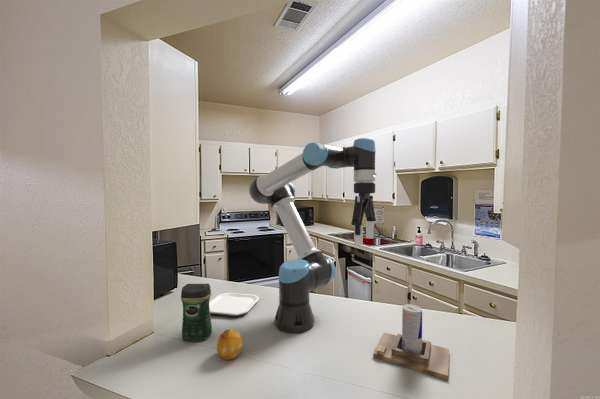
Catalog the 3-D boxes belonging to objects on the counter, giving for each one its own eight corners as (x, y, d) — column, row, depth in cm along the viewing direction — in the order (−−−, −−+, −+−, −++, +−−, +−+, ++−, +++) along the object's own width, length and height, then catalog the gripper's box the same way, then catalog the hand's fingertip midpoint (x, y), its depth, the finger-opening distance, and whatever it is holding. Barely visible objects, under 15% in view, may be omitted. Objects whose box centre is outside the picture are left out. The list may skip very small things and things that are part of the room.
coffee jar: (214, 330, 97) (213, 280, 97) (206, 342, 89) (205, 288, 89) (188, 330, 98) (187, 280, 97) (178, 342, 90) (177, 288, 89)
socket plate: (373, 357, 81) (373, 347, 81) (383, 335, 93) (383, 327, 93) (448, 380, 71) (448, 369, 71) (449, 352, 83) (449, 343, 83)
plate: (197, 315, 110) (197, 310, 110) (222, 296, 130) (222, 291, 130) (243, 320, 105) (243, 315, 105) (262, 299, 126) (262, 295, 125)
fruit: (207, 347, 82) (217, 329, 80) (228, 338, 89) (237, 320, 87) (221, 370, 78) (232, 351, 76) (242, 358, 85) (252, 340, 83)
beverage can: (424, 362, 79) (424, 312, 78) (404, 360, 79) (405, 311, 79) (418, 350, 84) (419, 304, 84) (400, 349, 85) (400, 303, 84)
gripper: (364, 180, 82) (364, 248, 83) (383, 183, 104) (383, 236, 105) (341, 181, 86) (341, 246, 87) (364, 183, 108) (364, 235, 108)
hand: (364, 241), depth 96 cm, fingers open, 13 cm apart
